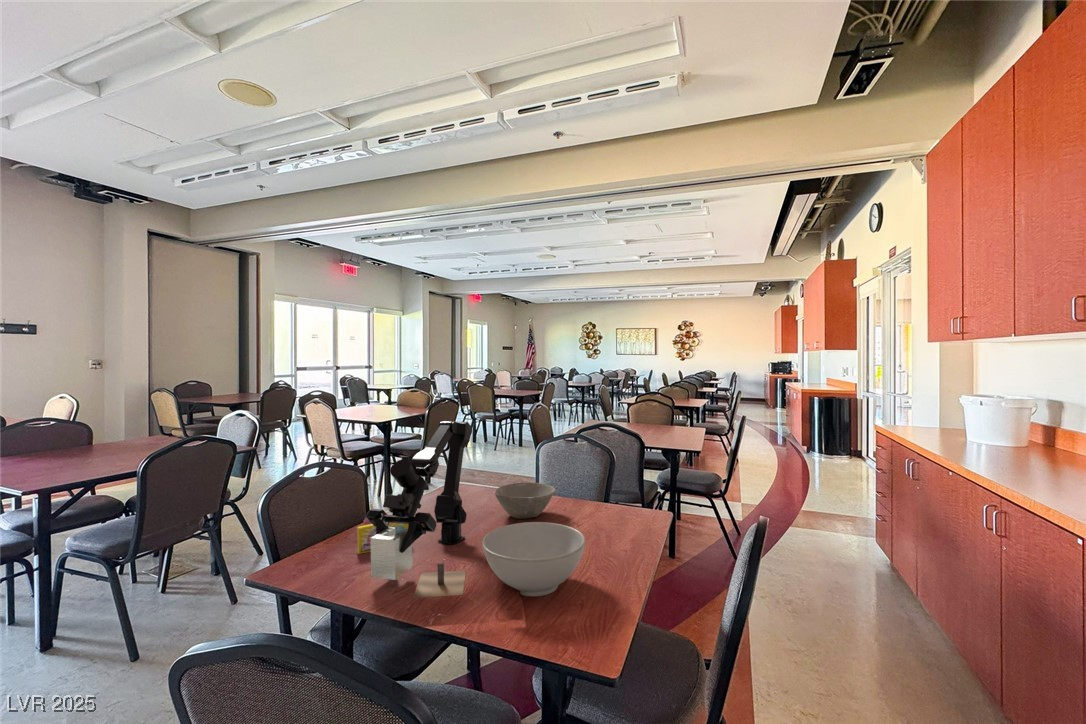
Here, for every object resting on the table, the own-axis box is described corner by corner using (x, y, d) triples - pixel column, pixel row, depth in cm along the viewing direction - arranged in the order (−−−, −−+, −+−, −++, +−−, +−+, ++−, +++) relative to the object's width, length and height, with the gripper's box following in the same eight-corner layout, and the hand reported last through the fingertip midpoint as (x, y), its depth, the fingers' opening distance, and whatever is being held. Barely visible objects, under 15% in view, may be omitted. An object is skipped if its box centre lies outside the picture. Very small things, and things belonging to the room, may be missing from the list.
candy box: (359, 555, 145) (358, 528, 145) (356, 553, 147) (356, 526, 147) (409, 542, 155) (409, 517, 156) (407, 540, 157) (406, 515, 157)
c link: (389, 563, 129) (388, 527, 129) (412, 566, 127) (411, 529, 127) (371, 577, 121) (370, 537, 121) (395, 579, 119) (394, 540, 119)
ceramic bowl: (487, 512, 186) (487, 486, 186) (540, 503, 196) (540, 479, 196) (507, 529, 166) (506, 500, 166) (565, 519, 176) (565, 492, 176)
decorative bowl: (510, 558, 141) (509, 517, 141) (597, 571, 131) (597, 527, 131) (462, 600, 116) (462, 551, 116) (567, 620, 106) (566, 566, 106)
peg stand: (421, 577, 129) (421, 554, 129) (465, 574, 130) (465, 552, 130) (412, 603, 115) (412, 577, 115) (462, 599, 116) (462, 574, 116)
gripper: (369, 479, 130) (342, 533, 120) (430, 483, 125) (408, 540, 115) (386, 499, 138) (363, 552, 127) (445, 504, 133) (425, 559, 122)
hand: (388, 551), depth 123 cm, fingers closed on c link, 7 cm apart
